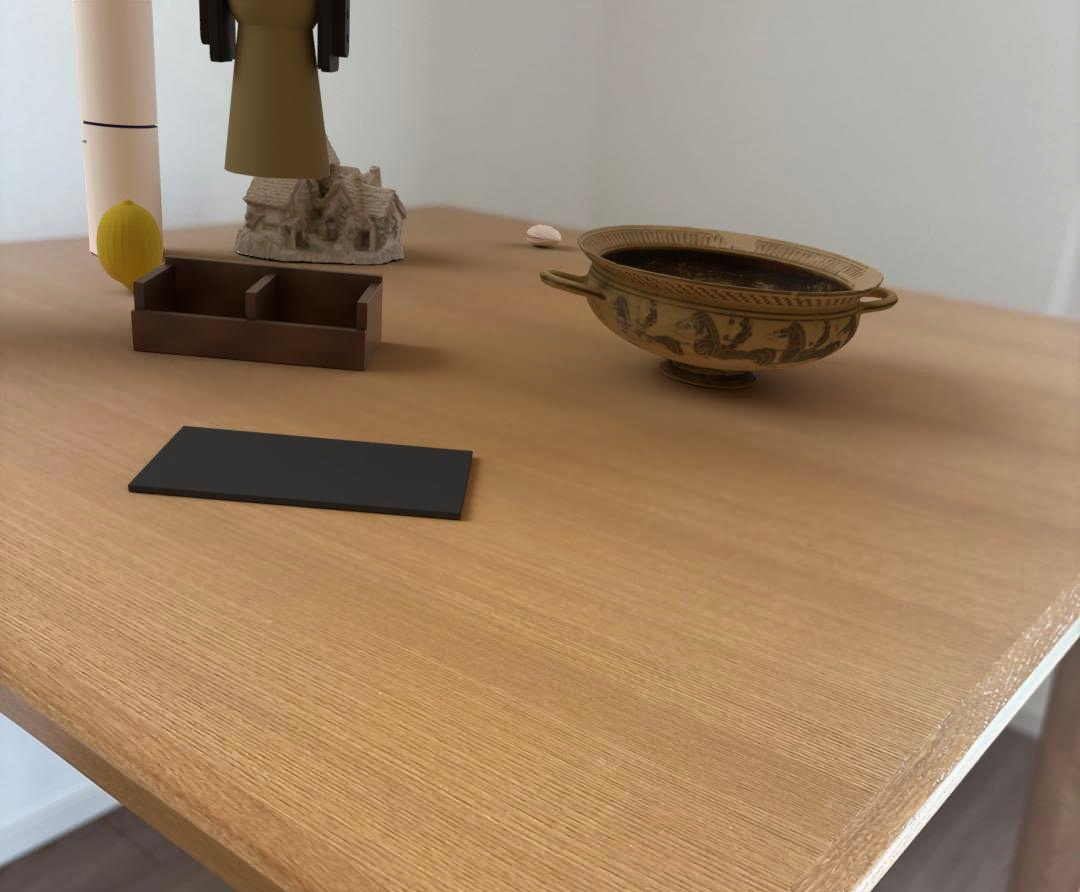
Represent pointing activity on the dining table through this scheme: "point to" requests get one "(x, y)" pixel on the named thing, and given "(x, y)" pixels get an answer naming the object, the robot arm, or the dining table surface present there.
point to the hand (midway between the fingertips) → (275, 62)
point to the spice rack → (258, 312)
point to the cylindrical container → (117, 106)
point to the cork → (276, 93)
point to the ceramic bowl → (722, 299)
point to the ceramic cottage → (323, 218)
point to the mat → (309, 472)
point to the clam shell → (543, 235)
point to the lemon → (128, 243)
